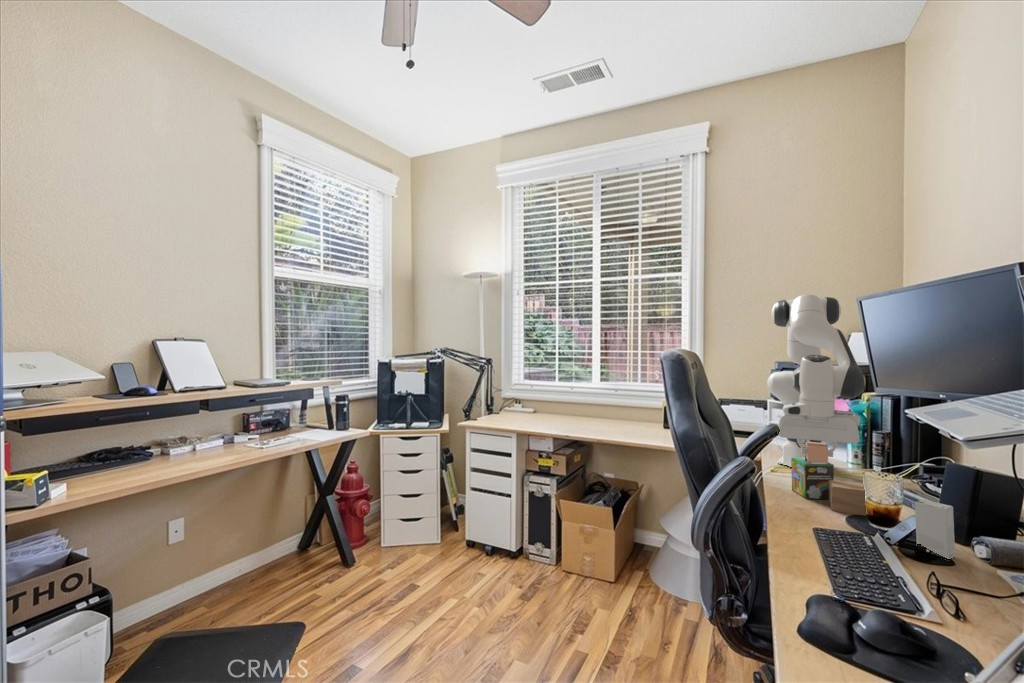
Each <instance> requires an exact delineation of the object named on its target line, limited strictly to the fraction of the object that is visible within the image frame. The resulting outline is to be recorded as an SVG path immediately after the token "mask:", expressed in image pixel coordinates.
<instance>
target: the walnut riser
mask: <svg viewBox="0 0 1024 683" xmlns="http://www.w3.org/2000/svg"><path fill="white" fill-rule="evenodd" d="M864 484H865V483H858V482H850V481H841V480H835V479H834V480H830V481H829V499H828V504H829V507H830V509H831V511H832V512H833V511H834V512H839V513H843V514H851V515H859V516H865V517H867V516H866V515H867V513H866V505H865V489H864Z"/></svg>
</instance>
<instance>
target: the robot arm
mask: <svg viewBox="0 0 1024 683" xmlns="http://www.w3.org/2000/svg"><path fill="white" fill-rule="evenodd" d="M770 312H771V313H770V315H771V319H772V321H773V324H775V325H776V326H777V327H780V328H781V327H782V328H786V327H787V335H786V336H787V339H786V340H787V341H786V342H787V343H786V344H787V357H788V359H789V360H790V361H791V362H793V363H794V364H798V367H797V368H795V369H794V370H783V371H776V372H772V373H771V374H770V375H769V376H768V378H767V382H766V386H767V390H768V391H769V392H770V393H771V394H772V395H773V396H774V397H776V398H777V399H778V400H779V401H780V402H781V403H782V405H783V406H782V412H783V413H782V414H781V415H780V416H779V419H778V427H779V429H780V432H779V434H778V433H777V434H778V436H779V437H780V438H782V439H786V442H784V443H783V444H782V446H781V457H780V458H779V459H778V460H777V462H776V464H777V463H779V464H778V465H780V464H786V465H790V466H791V458H802V457H805V456H806V454H807V448H806V442H817V443H823V442H829V443H831V447H830V449H828V458H834V452H835V451H836V449H837V448H838V446H839V443H841V444H842V443H843V444H854V445H857V444H858V443H859V442H860V433H859V428H858V427H859V426H860V425H861V417H860V416H859V414H858V413H856V412H854V411H850V410H847V411H845V410H837V409H836V407H835V406H836V405H835V399H836V398H839V397H840V398H844V399H845V398H846V399H855V398H856V397H858V396H860V395H862V394H863V393H864V392H865V390H866V389H865V388H866V377H865V375H864V373H863V371H862V370H861V367H860V366H859V365H858V363H857V361H856V359H855V357H854V355H853V352H852V350H851V348H850V345H849V343H848V342H847V339H846V337H845V335H844V333H843V331H841V330H840V329H838V328H836V327H834V326H833V325H834V324H836V323H837V322H838V321H839V320H840V317H841V316H842V315H841V314H842V307H841V304H840V302H839V301H838V299H836V298H835V297H829V296H825V297H818V296H816V295H814V294H809V293H805V294H801V295H799V296H797V297H796V298H793V299H792V298H791V299H782V300H781V299H780V300H777V301H776V302H775V303H774V304H773V307H772V308H771V311H770ZM821 349H824V350H826V351H829V352H830V353H832V354H833V355H834V358H835V360H836V362H837V364H838V365H833V364H834V363H833V359H832V357H829V356H827V355H823V354H822V352H821Z"/></svg>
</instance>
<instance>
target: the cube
mask: <svg viewBox="0 0 1024 683" xmlns="http://www.w3.org/2000/svg"><path fill="white" fill-rule="evenodd" d="M806 448H807V454H806V458H807V461H808V462H817V463H826V464H828V462H829V457H828V450H829V446H828V444H827V443H825V442H821V443H817V442H806Z"/></svg>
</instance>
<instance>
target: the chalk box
mask: <svg viewBox="0 0 1024 683" xmlns="http://www.w3.org/2000/svg"><path fill="white" fill-rule="evenodd" d="M834 466H835V465H834V464H833V463H831V462H829V461H828V464H826V463H817V462H808V461H807V458H806V456H805V457H802V458H791V467H792V468H791V491H793V492H794V493H796V494H797V495H799V496H801V497H802V498H804V499H806V500H809V499H810V500H813V499H814V500H829V481H830V480H834V481H835V477H834V473H835V472H834V471H835V470H834Z"/></svg>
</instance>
